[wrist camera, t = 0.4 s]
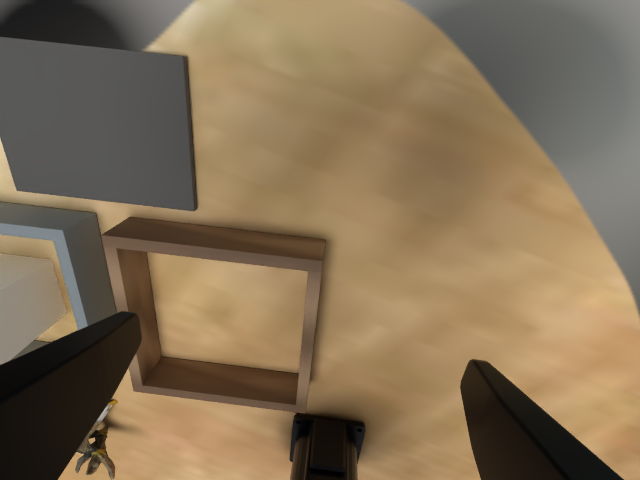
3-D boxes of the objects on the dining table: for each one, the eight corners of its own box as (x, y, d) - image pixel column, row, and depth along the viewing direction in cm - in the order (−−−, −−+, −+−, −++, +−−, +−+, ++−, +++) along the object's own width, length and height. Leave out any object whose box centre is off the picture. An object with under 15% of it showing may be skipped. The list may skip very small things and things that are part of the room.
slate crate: (126, 359, 29) (103, 387, 26) (-26, 339, 29) (-63, 365, 27) (95, 213, 23) (62, 230, 20) (-94, 190, 24) (-151, 205, 21)
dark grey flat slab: (197, 208, 22) (194, 211, 22) (23, 188, 23) (16, 190, 22) (186, 56, 19) (182, 56, 18) (-23, 34, 19) (-32, 33, 18)
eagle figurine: (154, 436, 32) (98, 384, 27) (79, 517, 28) (-4, 472, 22) (117, 399, 36) (63, 347, 31) (47, 463, 32) (-28, 416, 27)
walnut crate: (309, 382, 29) (305, 413, 26) (153, 362, 29) (133, 391, 26) (325, 240, 23) (322, 261, 20) (129, 217, 23) (101, 235, 20)
